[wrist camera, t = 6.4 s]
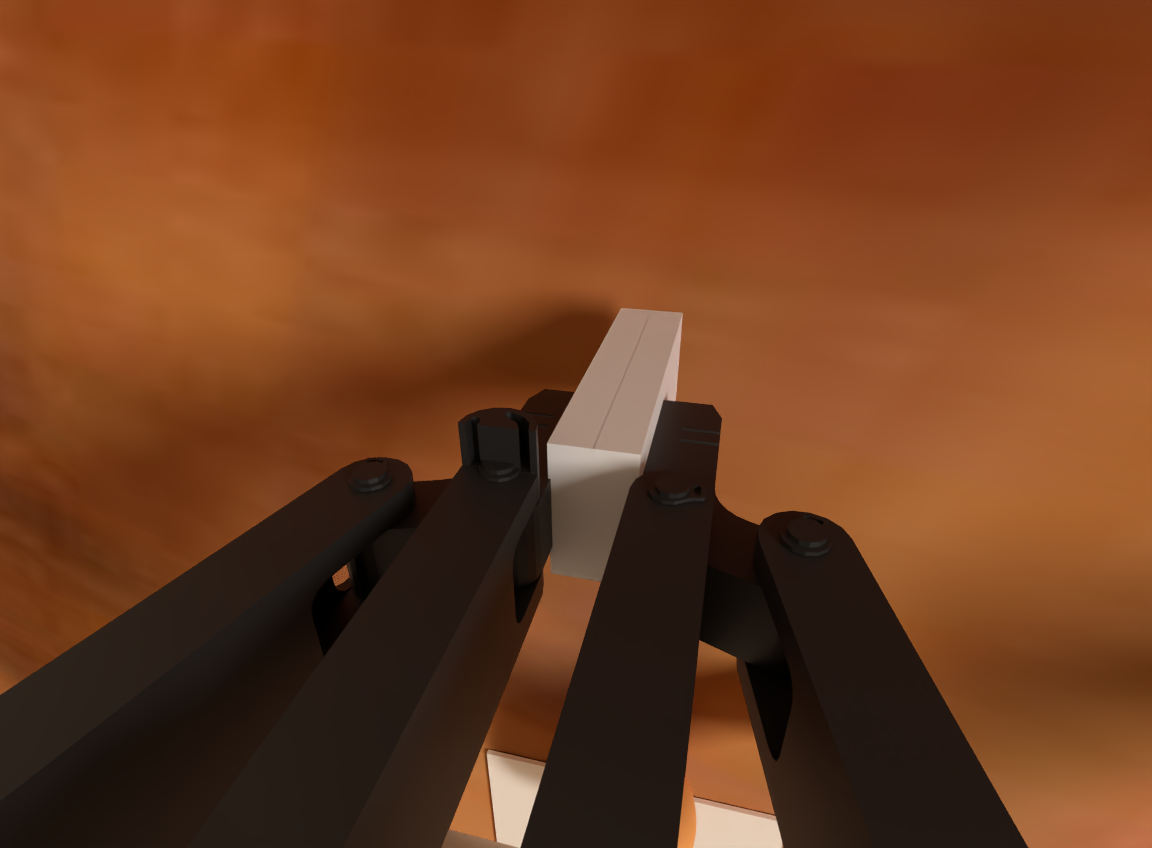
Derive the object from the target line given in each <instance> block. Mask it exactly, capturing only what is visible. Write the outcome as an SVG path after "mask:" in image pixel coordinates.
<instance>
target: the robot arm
mask: <svg viewBox="0 0 1152 848" xmlns="http://www.w3.org/2000/svg"><path fill="white" fill-rule="evenodd" d="M682 316H683V313H678V312H665V311H652V310H639V309H626V308H621V309H620V311H619V313H618V315H617V317H616V318H615V320H614V322H613V324H612V326H611V327H610V329H609V331H608V333H607V335H606V337H605V338H604V340H603V342H602V344H601V346H600V348H599V349H598V351H597V353H596V355H595V357H594V358H593V360H592V362H591V364H590V366H589V368H588V369H587V371H586V373H585V375H584V377H583V379H582V380H581V382H580V384H579V386H578V388H577V389H576V391H575V392H567V391H557V390H548V389H545V390H543V391H541V392H539V393H538V394H536V395H534V396H533V397H531V398H529V399H528V401H527V402H526V403H525V405H524V406H523V408H522V409H521V410H516V409H512V408H490V409H484V410H479V411H477V412H474V413H471V414H469V415H467V416H465V417H464V418H463V419H461V420H460V421H459V422H458V427H459V437H460V446H461V455H462V464H463V465H462V466H461V468H460V469H459V471H458V472H457V473H456V475H455V476H454V478H452V479H444V480H433V481H417V482H414V481H413V474H412V471H411V469H410V468H409V466H408V464H406V463H404V462H402V461H400V460H398V459H392V458H386V457H377V458H376V457H374V458H367V459H365V460H361V461H357V462H354V463H352V464H350V465H348V466H346V467H344V468H342V469H340V470H339V471H337V472H336V473H334V474H333V475H331V476H330V477H328V478H326V479H325V480H323V481H322V482H320V483H319V484H317V485H316V486H314V487H313V488H311V489H310V490H308V491H307V492H305V493H304V494H302V495H301V496H299V497H298V498H296V499H295V500H293V501H292V502H290V503H289V504H287V505H286V506H284V507H283V508H281V509H280V510H278V511H277V512H275V513H274V514H272V515H271V516H269V517H268V518H266V519H265V520H263V521H262V522H260V523H259V524H257V525H256V526H254V527H253V528H251V529H250V530H248V531H247V532H245V533H244V534H242V535H241V536H239V537H238V538H236V539H235V540H233V541H232V542H230V543H229V544H227V545H226V546H224V547H223V548H221V549H220V550H218V551H217V552H215V553H214V554H212V555H211V556H209V557H208V558H206V559H205V560H203V561H202V562H200V563H199V564H197V565H196V566H194V567H192V568H191V569H189V570H188V571H186V572H185V573H183V574H182V575H180V576H179V577H177V578H176V579H174V580H173V581H171V582H170V583H168V584H167V585H165V586H164V587H162V588H161V589H159V590H158V591H156V592H155V593H153V594H152V595H150V596H149V597H147V598H146V599H144V600H143V601H141V602H140V603H138V604H137V605H135V606H134V607H132V608H131V609H129V610H128V611H126V612H125V613H123V614H122V615H120V616H119V617H117V618H116V619H114V620H113V621H111V622H110V623H108V624H107V625H105V626H104V627H102V628H101V629H99V630H98V631H96V632H95V633H93V634H92V635H90V636H89V637H87V638H86V639H84V640H83V641H81V642H80V643H78V644H77V645H75V646H74V647H72V648H71V649H69V650H68V651H66V652H65V653H63V654H61V655H60V656H58V657H57V658H55V659H54V660H52V661H51V662H49V663H48V664H46V665H45V666H43V667H42V668H40V669H39V670H37V671H36V672H34V673H33V674H31V675H30V676H28V677H27V678H25V679H24V680H22V681H21V682H19V683H18V684H16V685H15V686H13V687H12V688H10V689H9V690H7V691H6V692H4V693H3V694H1V695H0V848H441V847H442V845H443V842H444V840H445V837H446V835H447V832H448V830H449V827H450V825H451V822H452V820H453V817H454V815H455V812H456V810H457V807H458V805H459V802H460V800H461V797H462V795H463V792H464V790H465V787H466V785H467V782H468V780H469V777H470V775H471V772H472V770H473V767H474V765H475V762H476V760H477V757H478V755H479V752H480V750H481V747H482V745H483V742H484V740H485V737H486V735H487V732H488V730H489V727H490V725H491V722H492V720H493V717H494V714H495V712H496V709H497V707H498V704H499V702H500V699H501V697H502V694H503V692H504V689H505V687H506V684H507V682H508V679H509V677H510V674H511V672H512V669H513V667H514V664H515V662H516V659H517V657H518V654H519V652H520V649H521V647H522V644H523V642H524V639H525V637H526V634H527V632H528V629H529V627H530V624H531V622H532V619H533V617H534V614H535V612H536V609H537V607H538V604H539V602H540V599H541V597H542V594H543V586H544V580H543V568H544V565H545V563H546V561H547V558H548V556H549V553H550V555H551V573H552V574H558V575H564V576H570V577H576V578H582V579H588V580H594V581H600V582H601V584H600V587H599V591H598V594H597V597H596V600H595V604H594V607H593V610H592V614H591V617H590V620H589V624H588V627H587V630H586V633H585V637H584V640H583V643H582V647H581V650H580V653H579V656H578V660H577V663H576V666H575V670H574V673H573V676H572V679H571V683H570V686H569V689H568V693H567V696H566V699H565V702H564V706H563V709H562V712H561V716H560V719H559V722H558V725H557V729H556V732H555V735H554V739H553V742H552V745H551V748H550V752H549V755H548V758H547V762H546V765H545V768H544V771H543V775H542V778H541V781H540V785H539V788H538V791H537V794H536V798H535V801H534V804H533V808H532V811H531V814H530V817H529V821H528V824H527V827H526V831H525V834H524V837H523V840H522V844H521V847H520V848H677V847H678V837H679V828H680V818H681V809H682V799H683V790H684V780H685V771H686V761H687V752H688V742H689V733H690V723H691V714H692V704H693V695H694V685H695V676H696V667H697V657H698V648H699V640H701V641H703V642H705V643H707V644H709V645H711V646H713V647H716V648H718V649H720V650H722V651H724V652H726V653H728V654H731V655H733V656H735V657H737V670H738V674H739V678H740V682H741V686H742V689H743V693H744V697H745V701H746V705H747V709H748V712H749V716H750V720H751V724H752V728H753V732H754V736H755V739H756V743H757V747H758V751H759V755H760V759H761V762H762V766H763V770H764V774H765V778H766V782H767V785H768V789H769V793H770V797H771V801H772V805H773V809H774V812H775V816H776V820H777V824H778V828H779V832H780V835H781V839H782V843H783V847H784V848H1028V847H1027V845H1026V843H1025V841H1024V839H1023V838H1022V836H1021V834H1020V832H1019V831H1018V829H1017V827H1016V825H1015V824H1014V822H1013V820H1012V818H1011V817H1010V815H1009V813H1008V811H1007V810H1006V808H1005V806H1004V804H1003V803H1002V801H1001V799H1000V797H999V796H998V794H997V792H996V790H995V789H994V787H993V785H992V783H991V782H990V780H989V778H988V776H987V775H986V773H985V771H984V769H983V768H982V766H981V764H980V762H979V761H978V759H977V757H976V755H975V754H974V752H973V750H972V748H971V747H970V745H969V743H968V741H967V740H966V738H965V736H964V734H963V732H962V731H961V729H960V727H959V725H958V724H957V722H956V720H955V718H954V717H953V715H952V713H951V711H950V710H949V708H948V706H947V704H946V703H945V701H944V699H943V697H942V696H941V694H940V692H939V690H938V689H937V687H936V685H935V683H934V682H933V680H932V678H931V676H930V675H929V673H928V671H927V669H926V668H925V666H924V664H923V662H922V661H921V659H920V657H919V655H918V654H917V652H916V650H915V648H914V647H913V645H912V643H911V641H910V640H909V638H908V636H907V634H906V633H905V631H904V629H903V627H902V626H901V624H900V622H899V620H898V618H897V617H896V615H895V613H894V611H893V610H892V608H891V606H890V604H889V603H888V601H887V599H886V597H885V596H884V594H883V592H882V590H881V589H880V587H879V585H878V583H877V582H876V580H875V578H874V576H873V575H872V573H871V571H870V569H869V568H868V566H867V564H866V562H865V561H864V559H863V557H862V555H861V554H860V552H859V550H858V548H857V547H856V545H855V543H854V541H853V540H852V538H851V537H850V536H849V535H848V534H847V533H846V531H845V530H844V529H843V528H842V527H840V526H838V525H837V524H835V523H834V522H832V521H830V520H829V519H827V518H824V517H821V516H818V515H815V514H812V513H807V512H798V511H787V512H780V513H775V514H773V515H771V516H769V517H767V518H765V519H764V520H763V521H762V523H761V524H760V525H757V524H754V523H752V522H749V521H746V520H744V519H742V518H740V517H737V516H736V515H734V514H733V513H731V512H730V511H728V510H727V509H726V508H725V507H724V506H723V505H722V504H721V503H720V502H719V500H718V498H717V497H716V494H715V480H716V470H717V460H718V450H719V441H720V431H721V421H722V418H721V417H720V415H719V414H718V412H717V411H716V409H715V408H714V406H713V405H707V404H697V403H688V402H678V401H676V391H677V378H678V366H679V353H680V341H681V328H682ZM346 564H347V568H348V572H349V576H350V577H349V578H348V579H347V580H346V581H345V582H343V583H342V584H340V585H338V586H335V585H334V582H333V578H332V576H333V575H334V574H335V573H336V572H337V571H339V570H340V569H341V568H342V567H343V566H345V565H346Z"/></svg>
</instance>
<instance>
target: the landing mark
mask: <svg viewBox="0 0 1152 848" xmlns="http://www.w3.org/2000/svg"><path fill="white" fill-rule="evenodd" d="M487 760H488V769H489V777H490V786H491V795H492V803H493V812H494V820H495V829H496V838H497V842H499V843H503V844H507V845H511V846H514V847H518V848H520V847H521V844H522V840H523V837H524V834H525V831H526V827H527V824H528V821H529V817H530V814H531V811H532V808H533V804H534V801H535V798H536V794H537V791H538V788H539V785H540V781H541V778H542V775H543V771H544V768H545V765H546V763H545V762H540V761H536V760H532V759H528V758H523V757H519V756H515V755H510V754H506V753H502V752H497V751H493V750H489V749H488V751H487ZM693 798H694V803H695V808H696V835H695V840H694V846H693V848H782V839H781V835H780V832H779V828H778V824H777V820H776V816H774V815H769V814H765V813H761V812H756V811H752V810H748V809H743V808H739V807H735V806H730V805H726V804H722V803H717V802H713V801H709V800H704V799H700V798H696V797H693Z"/></svg>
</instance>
